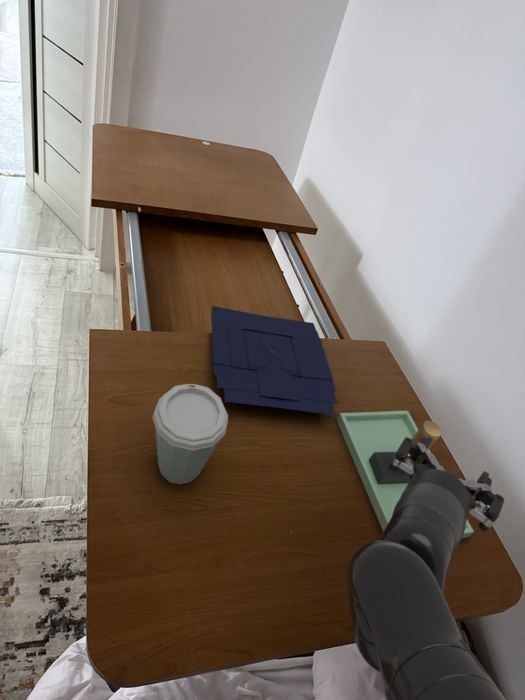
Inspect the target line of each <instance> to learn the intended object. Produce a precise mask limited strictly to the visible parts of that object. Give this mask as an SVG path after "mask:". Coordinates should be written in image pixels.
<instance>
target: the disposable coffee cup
mask: <svg viewBox="0 0 525 700" xmlns="http://www.w3.org/2000/svg"><path fill="white" fill-rule="evenodd" d="M152 420H153V423H154V426H155V439H156V453H157V455H156V456H157V465H158V468H159V472H160V474H161V476H162V477H163V478H164V479H166V480H167V481H168V483H171V484H175V485H180V486H181V485H184V484H188V483H192V482H193V481H194V480H195V479H196V478H197V477H198V476H199V475H200V474H201V472H202V471H203V469H204V468H205V466H206V465H207V462H208V460H209V459H210V457H211V456H212V454H213V453H214V451H215V450H216V448H217V446H218V445H219V442H220V441H221V440H222V438H223V437H225V435H226V431H227V427H228V423H229V414H228V412H227V410H226V407H225V406H224V403H223V401H222V398H221V397H220V396H219V395H217V394H216V393H215V391H213V390H212V389H211V388H209V387H207V386H204V385H200V384H196V383H184V384H178V385H174V386H172V388H171V389H170V390H168V391H167V392H165V393H164V394H163V395H162V396H161V397H160V398H159V399H158V402H157V403H156V405H155V409H154V411H153V415H152Z"/></svg>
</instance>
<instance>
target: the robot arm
mask: <svg viewBox="0 0 525 700" xmlns="http://www.w3.org/2000/svg"><path fill="white" fill-rule="evenodd" d="M432 440H433V439H432V438H430V437H428V438H427V439H426V438H425V437H422V438H421V439H420V441H419V443H418V444H414V443H413V441H412V439H410V438H408V437H405V439H404V440H403V442H402V444H401V445H400V447H399V448H398V450H397V452H396V454H395V456H394V458H393V460H392V461H391V463H390V465H389V468H390V469H391V470H393V471H395V472H397V471H398V469H402V470H403V471H405V472H406V473H408V474H409V478H410V482H409V483H408V485H407V487H406V488H405V490H404V492H403V493H402V495H401V497H400V499H399V501H398V502H397V504H396V506H395V508H394V511H393V514H392V518H391V519H390V521H389V523H388V525H387V526H386V528H385V530H384V532H383V531H382V533H381V536H380V537H379V540H374V541H370V542H367V543H365V544H364V545H363V546H361V547H360V548H359V549H357V550H356V551H355V552H354V554H353V555H352V556H351V558H350V560H349V563H348V564H347V568H346V588H347V589H346V590H347V596H348V603H349V610H350V617H351V626H352V632H353V639H354V642H355V645H356V648H357V650H358V652H359V654H360V655H361V657H362V658H363V660H364V661H365V662H366V663H367V665H368V666H370V667H371V668H372V669H374V670H375V671H377V672H379V673H380V678H381V682H382V683H381V684H382V687H383V690H384V691H383V692H384V694H385V697H386V700H507V699H506V697H504V694H503V693H502V691H500V689H499V688H498V687H497V685H496V684H495V682H494V681H493V679H492V678H491V676H490V675H489V674H488V673H487V671H486V669H485V668H484V666H483V665H482V663H480V661H479V660H478V658H477V657H476V656H475V654H474V653H473V652H472V650H471V649H470V648H469V647H468V645H467V643H466V642H465V640H464V637H463V635H462V633H461V631H460V628H459V626H458V623H457V621H456V619H455V616H454V614H453V612H452V610H451V608H450V605H449V602H448V601H447V599H446V597H445V593H444V591H445V582H446V576H447V573H448V571H449V568H450V566H451V563H452V559H453V556H454V554H455V551H456V550H457V547H458V546H459V544H460V542H461V540H462V539H463V538H462V537H463V534H464V531H465V525H466V521H467V520H468V518H469V516H472V517H473V518H474V519H476V520H477V521H478V527H479V528H480V530H481V531H483V532H486V533H487V532H488V531H489V530H490V529H491V527H492V526H493V525H494V524H495V522H496V521H497V520H498V518H499V517H500V513H501V512H502V509H503V506H504V503H505V497H503V495H501V494H499V493H495V494H494V493H493V492H492V483H493V479H492V478H491V477H490V473H489V472H487V471H485V470H484V471H483V472H482V473H481V474H480V476H479V477H478V479H477V481H476V480H475V479H474V480H473V479H471V480H470V479H462V478H461V477H459V476H457V475H456V474H453V473H452V472H450V471H449V470H448V469H446V468H445V467H444V466H443V465H441V464H440V463H439V461H438V459H437V457H436V456H435V454H434V453H432V452H431V453H429V452H428V450H427V448H428V447H429V445H430V443H431V441H432ZM409 458H410V459H411V461H412V463H413V465H414V466H413V465H412V464H411V461H410V459H409ZM478 504H481V505H482V504H483V505H484V506H481V507H479V506H477V505H478Z"/></svg>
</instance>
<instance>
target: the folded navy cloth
mask: <svg viewBox="0 0 525 700" xmlns="http://www.w3.org/2000/svg"><path fill="white" fill-rule="evenodd" d="M210 323H211V342H212V343H211V344H212V364H213V365H212V366H213V375H214V376H215V377H216V386H217V388H218V389H223V393H224V395H223V396H224V402H225V403H235V404H243V405H251V406H260V407H268V408H269V407H271V408H279V409H285V410H286V409H287V410H293V411H301V412H307V413H309V412H310V413H316V414H324V415H331V416H336V414H335V410H334V406H333V404H338V401H337V397H336V392H337V389H336V386H335V383H334V378H333V374H332V371H331V368H330V365H329V362H328V359H327V355H326V352H325V350H324V346H323V343H322V339H321V337H320V334H319V332H318V330H317V329H316V328H317V327H316V325H315V323H314V322H310V321H304V320H303V321H302V320H295V319H288V318H282V317H274V316H268V315H263V314H262V315H261V314H257V313H251V312H246V311H241V310H236V309H231V308H225V307H220V306H215V305H212V306H211V313H210Z"/></svg>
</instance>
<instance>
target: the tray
mask: <svg viewBox="0 0 525 700" xmlns="http://www.w3.org/2000/svg"><path fill="white" fill-rule="evenodd" d="M335 420H336V422H337V425H338V428H339V430H340V432H341V434H342V437H343V440H344V442H345V445H346V447H347V449H348V451H349V454H350V456H351V459H352V461H353V463H354V465H355V468H356V471H357V473H358V476H359V477H360V480H361V482H362V484H363V488H364V489H365V492H366V494H367V496H368V499H369V502H370V503H371V506H372V508H373V511H374V513H375V515H376V518H377V520H378V522H379V525H380V527H381V529H382V533H383V532H384V530H385V528H386V526H387V525H388V523H389V521H390V519H391V518H392V514H393V511H394V508H395V506H396V504H397V502H398V501H399V499H400V497H401V495H402V493H403V492H404V490H405V488H406V487H407V485H408V483H401V484H378V483H377V481H376V478H375V475H374V473H373V470H372V468H371V465H370V462H369V458H370V457H371V456H372V454H373V453H374V452H397V450H398V448H399V447H400V445H401V444H402V442H403V440H404V439H405V437H408V438H410V439H411V438H412V437H413V436H414V435H415V433H416V432H417V431H418V430H419V428H418V427H417V425H416V423H415V421H414V419H413V418H412V416H411V414H410V411H409V410H390V411H389V410H387V411H362V412H361V411H360V412H359V411H358V412H339V414H338V416H337V418H336V419H335ZM428 452H429V453H432V452H431V450H430V448H429V449H428ZM474 533H475V531H474V529H473V527H472V525H471V524H470V522H469V520H468V519H467V521H466V525H465V531H464V534H463V537H462V538H461V539H466V538H469V537H470V536H471V535H473V534H474Z"/></svg>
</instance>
